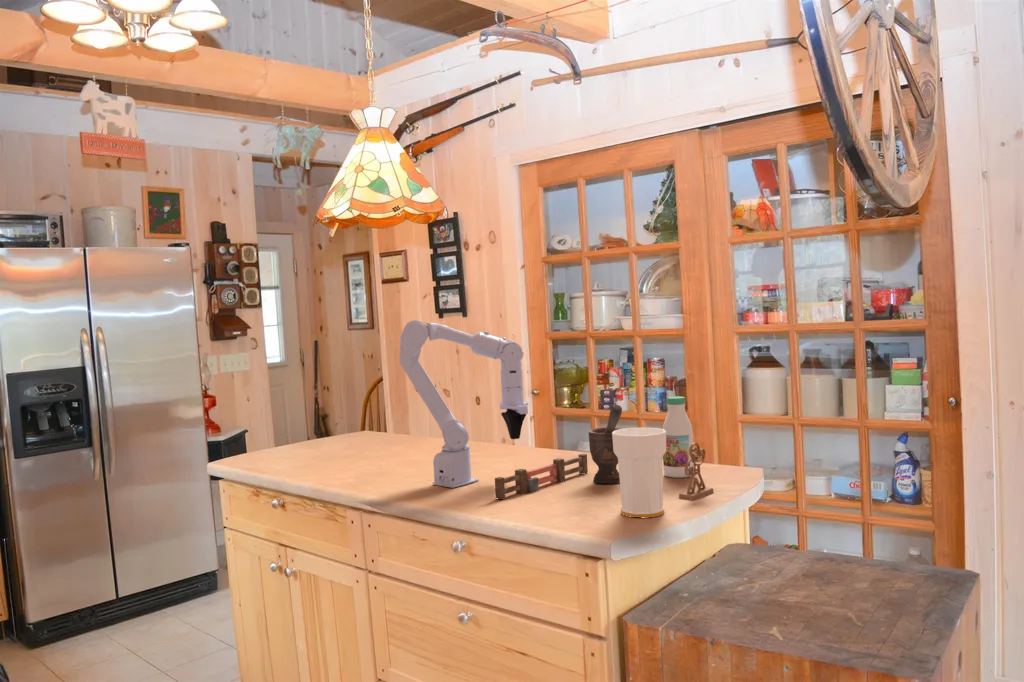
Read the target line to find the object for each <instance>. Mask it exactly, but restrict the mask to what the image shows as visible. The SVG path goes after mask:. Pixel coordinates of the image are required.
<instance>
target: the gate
mask: <svg viewBox="0 0 1024 682" xmlns="http://www.w3.org/2000/svg"><path fill="white" fill-rule="evenodd" d="M526 471H527V480H528V479H531V478H532V477H534V476H538V475H541V474H545V473H547V472H549V474H548V475H545V476H542V477H537V478H538V484H539V486H540V485H543V484H546V483H549V482H550V483H556V482H558V481H557V471H556V464H553V463H551V464H548V465H544V466H540V467H538V468H534V469H530V470H526Z"/></svg>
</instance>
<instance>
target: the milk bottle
mask: <svg viewBox="0 0 1024 682" xmlns="http://www.w3.org/2000/svg"><path fill="white" fill-rule="evenodd" d="M666 407H667V414H666V417H665V420H664V422H663V425H662V429H664V430H665V431H666V452H665V453H664V455H663V456H662V466H663V474H664V476H666V477H668V478H675V479H677V478H679V479H682V478H691V475H690V476H688V475H685V465H686V463H687V461H688V460H689V459H691V457H690V454H689V449H690V446H691V444H692V443H694V431H693V425H692V423H691V421H690V419H689V417H688V415H687V411H686V408H685V407H686V397H685V396H668V397H666ZM694 446H695V445H694ZM694 446H693V449H694V448H695V447H694ZM692 453H693V454H695V452H692ZM693 464H694V463H692V461H691V462H690V463H689V465H688V469H689V467H690V466H693V467H694V465H693ZM688 472H689V471H688Z"/></svg>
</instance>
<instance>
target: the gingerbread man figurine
mask: <svg viewBox="0 0 1024 682" xmlns="http://www.w3.org/2000/svg"><path fill="white" fill-rule="evenodd" d="M693 446H696V447H694V449H693ZM692 452H694V454H693V453H692ZM689 454H690V457H691V459H689V460H688V461H687V463H686V465H685V475H688V476H690V475H691V477H689V478H690V479H689V481H688V485H687V490H686V491H683V492H681V493H679V494H678V498H679V499H681V498H684V499H683V500H687V499H691V500H690V501H696V500H698V499H701V498H703V497H706V496H709V495H711V494H713V493H714V488H713V487H708V486H706V484H705V481H704V479H703V477H702V474H701V465H702V464H704V462H705V459H706V451H705V448H701V447H700V444H699V443H697V442H693V443H692V444H691V446H690V449H689ZM700 458H701V459H700ZM699 459H700V461H699ZM691 461H692V463H694V464H693V465H694V467H693V466H690V467H689V469H688V465H689V463H690V462H691ZM688 471H689V472H688ZM695 476H698V478H699V479H698V478H697V477H695ZM699 481H700V482H699ZM696 486H697V487H696ZM712 492H713V493H712ZM710 493H711V494H710ZM708 494H709V495H708ZM705 495H706V496H705ZM702 496H703V497H702ZM700 497H701V498H700ZM697 498H698V499H697ZM695 499H696V500H695Z"/></svg>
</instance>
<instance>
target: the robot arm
mask: <svg viewBox="0 0 1024 682" xmlns="http://www.w3.org/2000/svg"><path fill="white" fill-rule="evenodd" d="M428 338H429V341H430V342H431V341H436V340H441V339H442V340H444V341H445V340H446V341H449V342H453V343H457V344H460V345H464V346H467V347H470V350H471V351H472V353H473V354H476V355H480V356H483V357H487V358H489V359H492V360H493V359H494V360H500V383H501V384H500V385H501V401H499V409H500V410H506V411H505V412H501V416H502V418H503V420H504V422H505V426H506V428H507V432H508V435H509V438H510V439H511V440H519V439H520V438H521V432H522V427H523V424H524V421H525V418H526V417H527V414H529V410H528V408H529V407H528V406H529V402H527V401H525V394H524V376H523V368H522V367H523V366H522V359H523V357H524V352H523V348H522V346H521V345H520V344H518V343H517V342H514V341H512V340H507V338H506V337H504V336H503V337H499V336H494V335H491V334H490V332H489V331H486V330H484V331H483V332H482V331H478V332H476V333H475V334H470V333H468V332H464V331H461V330H458V329H456V328H452V327H450V326H447V325H443V324H440V323H436V322H435V323H434V322H427V321H424V323H423V322H422V321H421V320H416V319H415V320H410V321H409V322H407V323H406V324H405V325H404V327H403V330H402V333H401V335H400V339H399V340H400V341H399V342H400V343H399V358H398V359H399V363H400V366H401V367H402V369H403V371H404V373H405V374H406V376H407V377H408V379H409V380H410V382H411V383H412V385H413V387H414V388H415V390H416V391H417V393H418V394H419V397H420V398H421V399H422V401H423V402H424V404H425V406H426V407H427V409H428V411H429V413H431V415H432V417H433V418H434V420H435V422H436V424H437V426H438V428H439V429H440V431H441V432H442V437H443V441H444V444H443V446H442V447H441V449H442V450H441V451H440V452H438V453H436V454H435V455H434V458H433V464H432V465H433V478H434V482H432V485H434V486H441V487H445V488H452V489H454V488H457V487H461V486H464V485H469V484H472V483H476V482H479V481H480V479H479V478H474V477H472V464H471V447H470V444H468V442H469V439H470V437H469V432H468V431H467V429H466V427H465V425H464V424H463V423H462V422H460V421H459V420H458V419H456V417H455V416H454V414H453V413H452V411H451V410H450V408H449V407H448V405H447V404H446V402H445V400H444V399H443V397H442V396H441V394H440V392H439V391H438V388H437V387H436V386H435V384H434V382H433V381H432V379H431V378H430V376H429V375H428V373H427V372H426V370H425V368H424V366H423V365H422V363H421V362H420V360H419V358H420V355H421V352H422V348H423V345H425V343H426V341H427V339H428Z"/></svg>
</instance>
